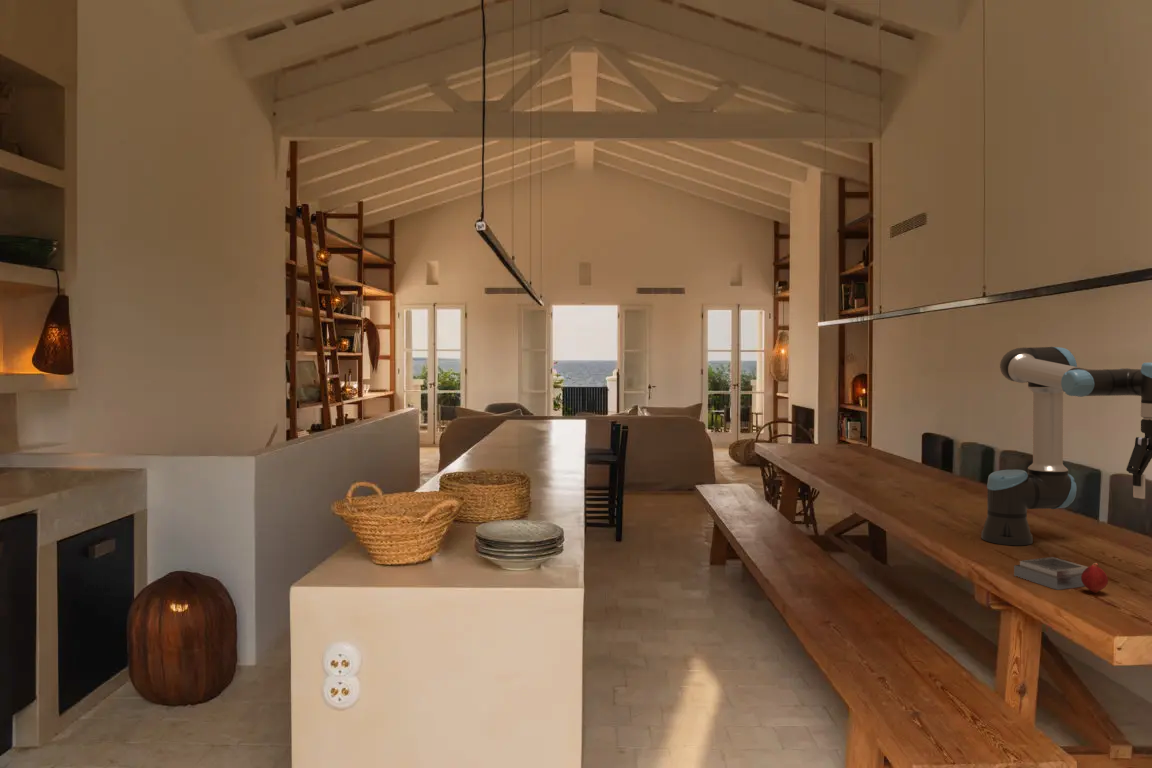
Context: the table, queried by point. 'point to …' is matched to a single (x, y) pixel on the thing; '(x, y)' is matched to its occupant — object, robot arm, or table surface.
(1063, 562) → the silver shallow square tray
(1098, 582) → the onion
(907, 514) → the table surface
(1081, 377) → the robot arm
